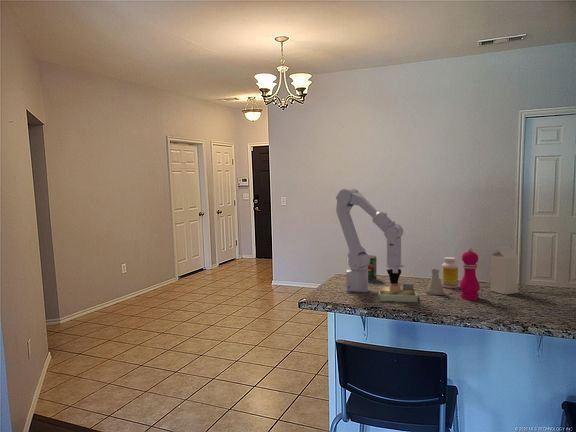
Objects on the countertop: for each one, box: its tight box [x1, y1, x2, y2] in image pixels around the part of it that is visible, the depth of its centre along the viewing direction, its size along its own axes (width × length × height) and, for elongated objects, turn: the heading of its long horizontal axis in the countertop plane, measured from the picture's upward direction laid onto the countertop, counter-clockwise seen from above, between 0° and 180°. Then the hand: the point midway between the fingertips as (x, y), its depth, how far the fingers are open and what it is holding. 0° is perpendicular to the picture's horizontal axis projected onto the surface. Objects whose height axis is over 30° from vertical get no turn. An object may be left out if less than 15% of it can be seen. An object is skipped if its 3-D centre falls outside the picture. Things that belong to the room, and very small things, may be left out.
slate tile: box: [401, 281, 414, 290], centre depth 169 cm, size 4×4×2 cm
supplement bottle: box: [441, 256, 459, 289], centre depth 181 cm, size 7×7×13 cm
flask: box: [425, 268, 445, 296], centre depth 171 cm, size 7×7×10 cm
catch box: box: [378, 290, 419, 303], centre depth 162 cm, size 15×6×2 cm, turn 80°
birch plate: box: [378, 285, 416, 296], centre depth 169 cm, size 14×8×2 cm, turn 80°
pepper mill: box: [459, 247, 481, 301], centre depth 162 cm, size 7×7×20 cm
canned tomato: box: [368, 254, 378, 282], centre depth 199 cm, size 8×8×11 cm
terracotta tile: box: [388, 283, 401, 292], centre depth 166 cm, size 4×4×2 cm
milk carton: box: [490, 245, 519, 295], centre depth 170 cm, size 7×7×19 cm
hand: (393, 287), depth 169 cm, fingers closed
